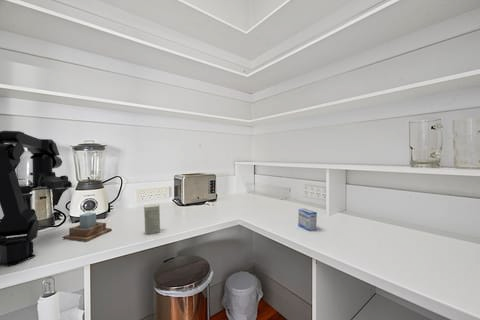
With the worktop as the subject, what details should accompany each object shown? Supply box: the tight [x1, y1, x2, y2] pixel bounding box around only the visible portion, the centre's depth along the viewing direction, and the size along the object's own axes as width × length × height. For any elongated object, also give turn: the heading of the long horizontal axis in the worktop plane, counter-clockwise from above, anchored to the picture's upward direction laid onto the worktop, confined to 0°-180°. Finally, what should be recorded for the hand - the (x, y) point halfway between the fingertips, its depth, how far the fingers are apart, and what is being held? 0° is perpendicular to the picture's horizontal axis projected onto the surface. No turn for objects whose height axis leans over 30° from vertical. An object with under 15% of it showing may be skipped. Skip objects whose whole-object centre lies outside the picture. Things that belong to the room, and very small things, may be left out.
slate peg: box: [79, 212, 97, 229], centre depth 85 cm, size 4×4×8 cm
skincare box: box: [143, 203, 161, 235], centre depth 89 cm, size 6×4×12 cm
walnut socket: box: [62, 221, 113, 243], centre depth 85 cm, size 12×12×4 cm
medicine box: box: [297, 207, 318, 232], centre depth 95 cm, size 8×4×9 cm, turn 27°
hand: (43, 208), depth 80 cm, fingers open, 9 cm apart
